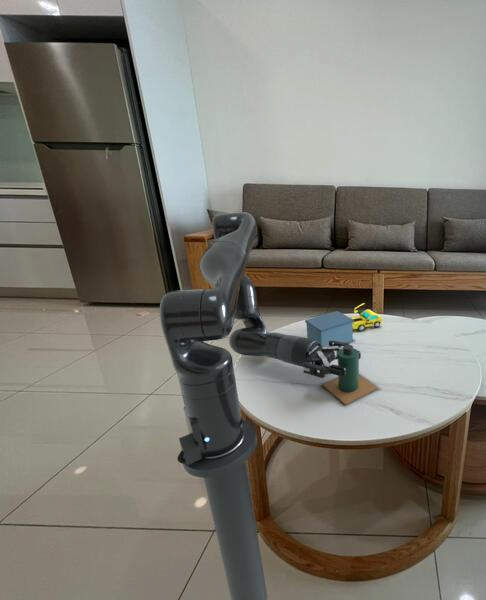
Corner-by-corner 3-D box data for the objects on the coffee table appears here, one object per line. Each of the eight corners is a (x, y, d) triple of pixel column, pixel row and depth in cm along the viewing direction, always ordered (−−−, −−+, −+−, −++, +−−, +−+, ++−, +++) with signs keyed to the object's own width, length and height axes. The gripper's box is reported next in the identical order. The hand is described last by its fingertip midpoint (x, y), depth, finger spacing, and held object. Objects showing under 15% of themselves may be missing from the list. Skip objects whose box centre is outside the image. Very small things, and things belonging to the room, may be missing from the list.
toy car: (373, 319, 125) (373, 299, 122) (383, 327, 119) (384, 306, 116) (345, 325, 119) (344, 304, 116) (353, 333, 113) (353, 312, 110)
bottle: (351, 394, 80) (351, 354, 76) (334, 388, 83) (333, 348, 78) (362, 384, 85) (362, 345, 81) (346, 378, 87) (345, 340, 83)
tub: (321, 352, 100) (320, 330, 97) (306, 341, 107) (304, 319, 104) (354, 340, 108) (353, 319, 105) (337, 331, 115) (337, 310, 112)
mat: (345, 405, 77) (345, 403, 77) (323, 385, 84) (323, 384, 84) (377, 389, 83) (377, 387, 83) (354, 372, 90) (354, 371, 90)
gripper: (280, 350, 78) (339, 364, 73) (312, 327, 91) (364, 338, 86) (282, 376, 81) (340, 392, 76) (313, 351, 94) (364, 362, 88)
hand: (353, 363), depth 81 cm, fingers open, 8 cm apart
